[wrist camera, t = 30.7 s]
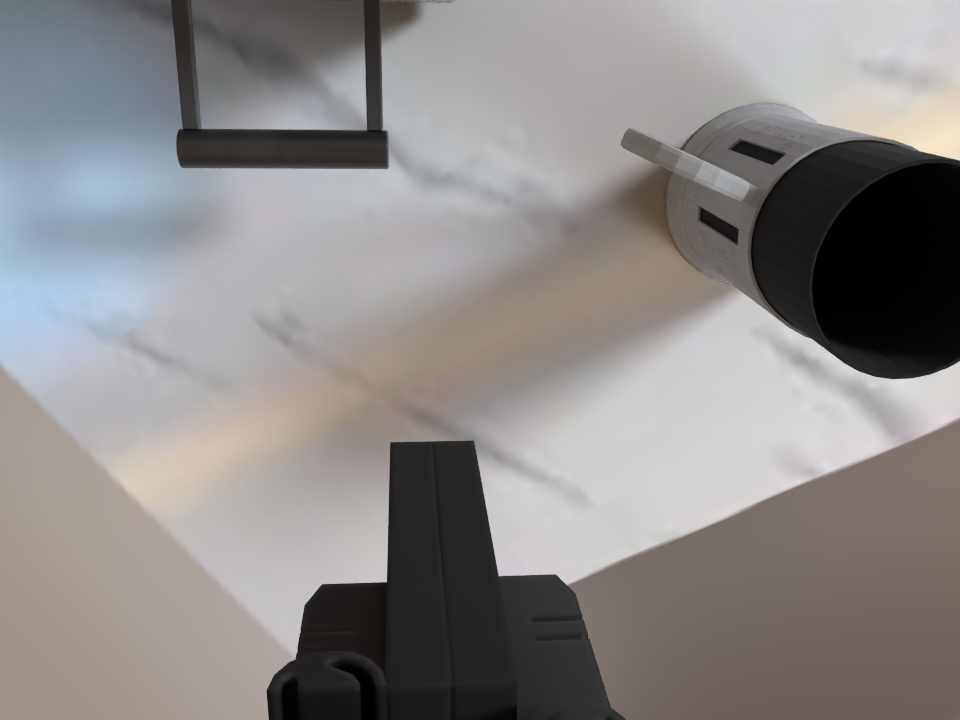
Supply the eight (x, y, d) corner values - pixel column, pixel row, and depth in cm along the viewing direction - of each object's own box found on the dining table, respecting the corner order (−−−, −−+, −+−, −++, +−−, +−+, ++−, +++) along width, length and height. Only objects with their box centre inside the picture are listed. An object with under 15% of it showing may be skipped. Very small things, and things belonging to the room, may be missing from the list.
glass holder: (785, 310, 47) (953, 431, 32) (533, 200, 44) (597, 280, 30) (876, 149, 44) (1099, 203, 30) (616, 20, 41) (727, 14, 27)
